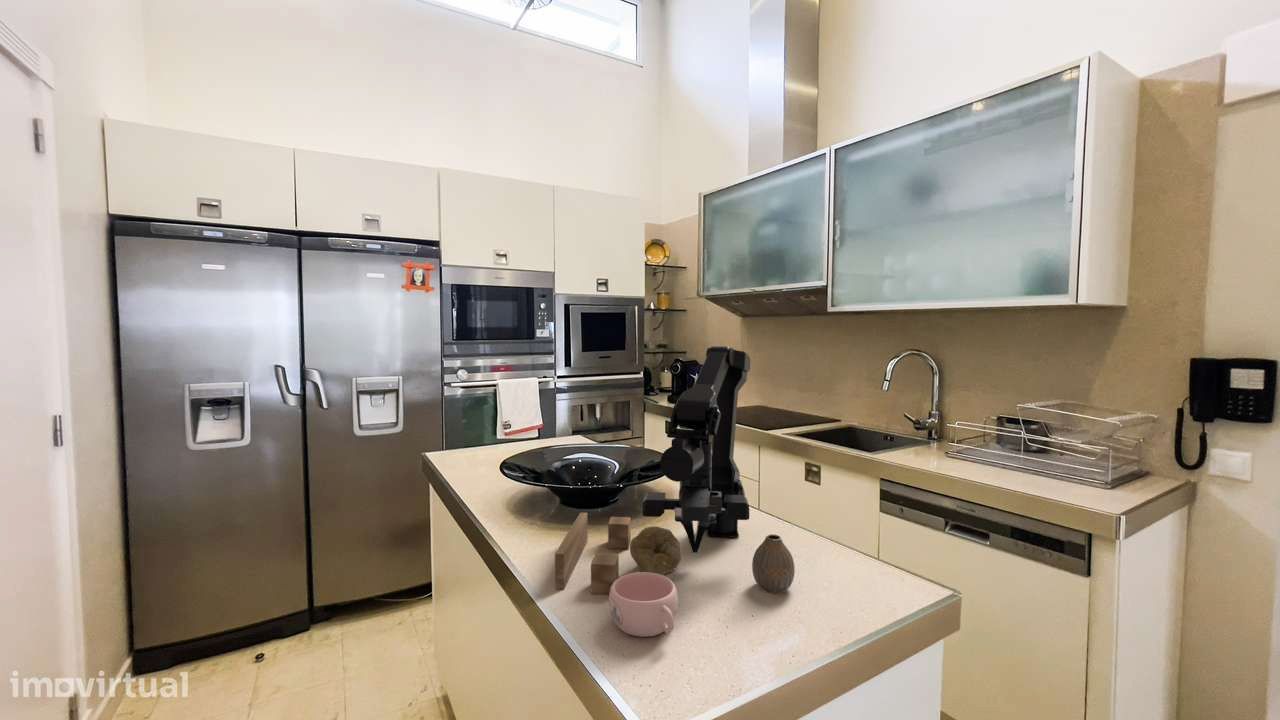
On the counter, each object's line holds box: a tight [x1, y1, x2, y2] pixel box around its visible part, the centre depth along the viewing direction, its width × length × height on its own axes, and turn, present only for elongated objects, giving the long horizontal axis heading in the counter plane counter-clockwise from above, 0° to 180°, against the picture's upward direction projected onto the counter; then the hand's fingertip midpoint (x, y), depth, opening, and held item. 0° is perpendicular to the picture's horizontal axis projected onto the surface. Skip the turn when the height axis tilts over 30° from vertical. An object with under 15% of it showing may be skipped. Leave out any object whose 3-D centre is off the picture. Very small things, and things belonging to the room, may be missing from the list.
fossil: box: [629, 525, 682, 576], centre depth 96 cm, size 9×4×10 cm
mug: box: [608, 571, 679, 638], centre depth 75 cm, size 12×10×6 cm
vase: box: [751, 534, 796, 595], centre depth 87 cm, size 7×7×9 cm
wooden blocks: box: [554, 512, 632, 596], centre depth 96 cm, size 10×22×6 cm, turn 174°
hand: (695, 552), depth 95 cm, fingers closed
